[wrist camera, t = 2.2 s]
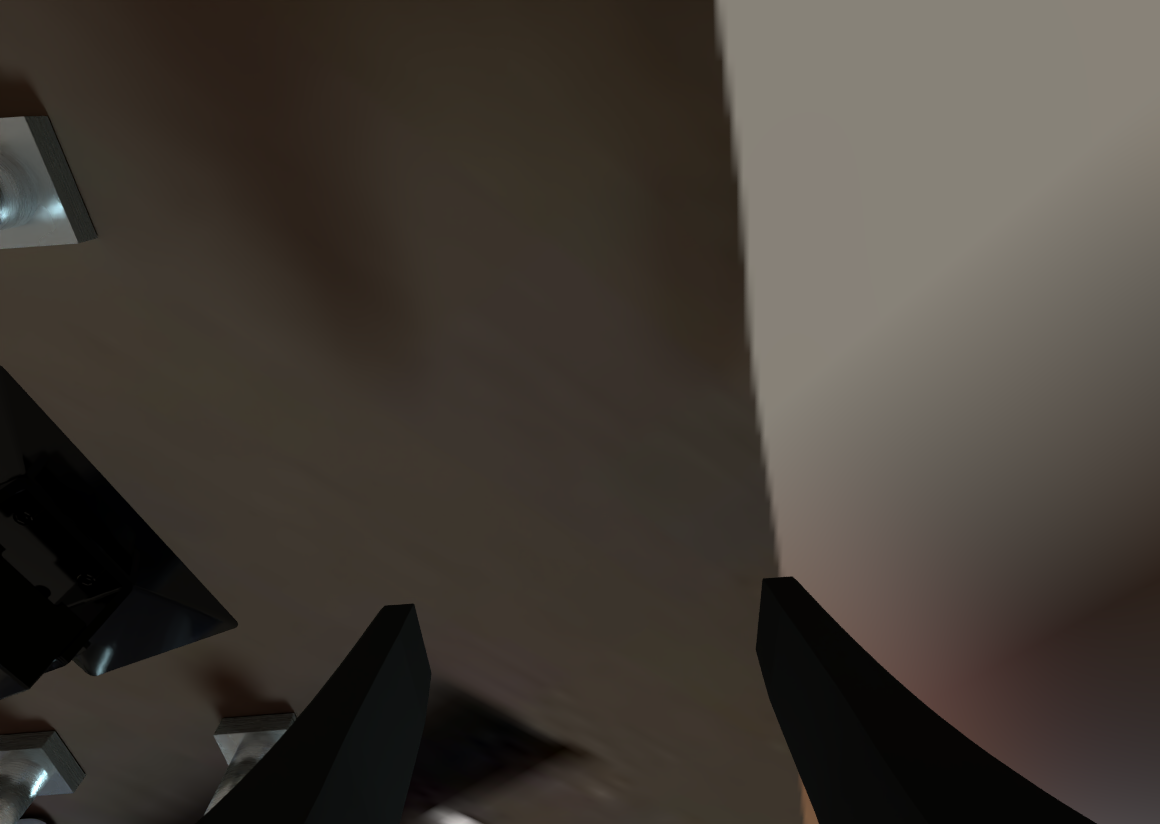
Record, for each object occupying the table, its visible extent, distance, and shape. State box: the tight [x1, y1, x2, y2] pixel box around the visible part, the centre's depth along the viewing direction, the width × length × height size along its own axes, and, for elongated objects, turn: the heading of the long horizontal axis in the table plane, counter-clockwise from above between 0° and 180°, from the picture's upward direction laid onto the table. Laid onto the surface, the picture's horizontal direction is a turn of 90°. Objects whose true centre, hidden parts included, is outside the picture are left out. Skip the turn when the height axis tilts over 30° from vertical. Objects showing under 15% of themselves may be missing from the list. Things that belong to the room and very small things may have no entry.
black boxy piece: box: [0, 366, 238, 700], centre depth 15 cm, size 12×7×5 cm, turn 22°
